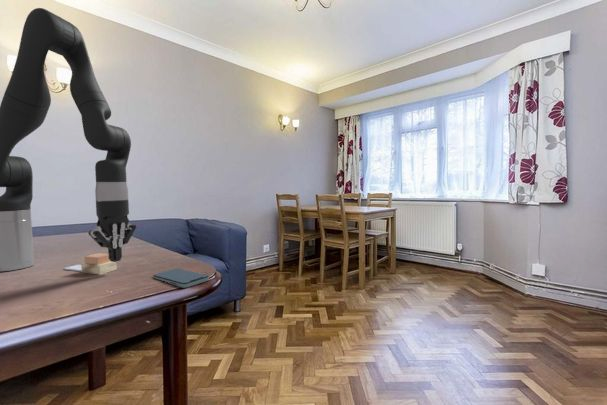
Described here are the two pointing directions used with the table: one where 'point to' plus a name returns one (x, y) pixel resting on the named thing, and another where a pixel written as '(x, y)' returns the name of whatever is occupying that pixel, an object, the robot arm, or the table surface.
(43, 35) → the robot arm
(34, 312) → the table surface
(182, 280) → the smartphone
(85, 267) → the deck
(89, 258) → the tile
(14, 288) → the table surface
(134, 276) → the table surface
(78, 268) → the mat
